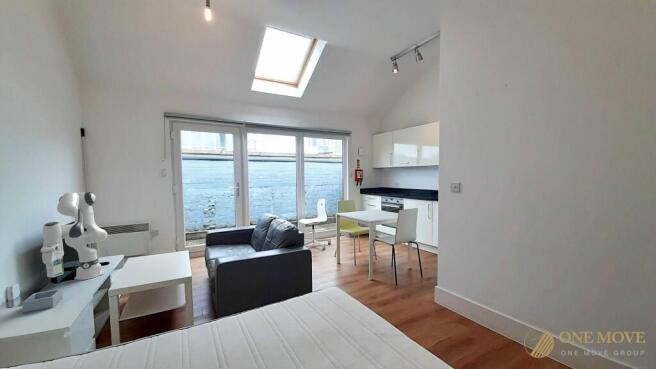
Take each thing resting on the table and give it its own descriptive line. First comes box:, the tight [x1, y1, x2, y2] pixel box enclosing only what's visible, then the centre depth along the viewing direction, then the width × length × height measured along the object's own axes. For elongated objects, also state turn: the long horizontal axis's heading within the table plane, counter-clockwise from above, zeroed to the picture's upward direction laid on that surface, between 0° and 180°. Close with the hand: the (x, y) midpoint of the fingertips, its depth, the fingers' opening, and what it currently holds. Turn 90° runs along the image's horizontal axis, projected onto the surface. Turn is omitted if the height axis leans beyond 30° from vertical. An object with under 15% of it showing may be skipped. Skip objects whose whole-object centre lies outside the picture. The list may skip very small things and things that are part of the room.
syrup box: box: [45, 253, 65, 278], centre depth 170 cm, size 6×6×14 cm
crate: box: [21, 288, 64, 314], centre depth 165 cm, size 14×14×7 cm
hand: (54, 266), depth 170 cm, fingers closed on syrup box, 8 cm apart
